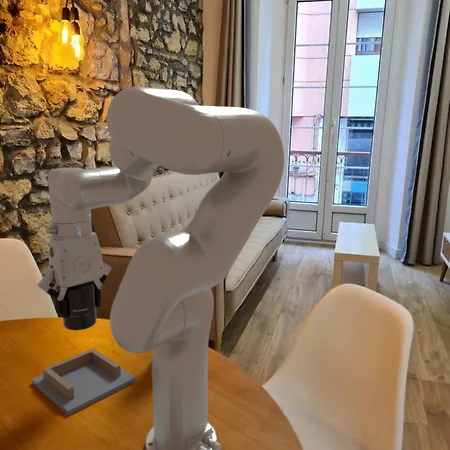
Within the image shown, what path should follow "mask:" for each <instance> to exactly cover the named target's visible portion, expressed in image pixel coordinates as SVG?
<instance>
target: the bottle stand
mask: <svg viewBox="0 0 450 450" xmlns="http://www.w3.org/2000/svg"><path fill="white" fill-rule="evenodd" d="M136 381H137V380H136V377H135V375H133V374H131V373H129V372H128V371H127V370H124V368H122V367H121V365H120V364H119V363H117V362H115V361H114V360H112V359H111V358H109V357H108V356H107V355H104V354H103V353H101V352H100V351H98V350H97V349H96V348H91V349H88V350H85V351H83V352H80V353H78V354H75V355H73V356H70V357H68V358H65V359H64V360H61V361H58V362H55V363H53V364H51V365H48V366H45V367H44V368H42V375H38V376H36V377H33V378H31V383H32V385H33V386H35V388H37V389H38V390H39V391H40V392H41V393H42V394H43V395H44V396H46V397H47V398H48V399H50V401H51V402H53V403H54V405H56V406H57V407H58V408H59V409H60V410H61V411H63V413H65V414H66V415H67V416H70V415H72V414H74V413H77V412H78V411H80V410H82V409H84V408H86V407H88V406H91V405H92V404H94V403H96V402H98V401H100V400H102V399H104V398H105V397H107V396H110V395H112V394H113V393H116V392H118V391H120V390H122V389H124V388H126V387H128V386H129V385H132V384H133V383H136Z"/></svg>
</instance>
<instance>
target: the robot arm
mask: <svg viewBox="0 0 450 450" xmlns="http://www.w3.org/2000/svg"><path fill="white" fill-rule="evenodd" d="M106 113H107V114H106V126H107V131H108V133H109V135H110V137H111V138H110V140H109V145H108V147H109V148H108V150H109V155H110V158H111V161H112V162H113V164H114V165H115V166H107V167H106V166H104V167H94V168H81V167H61V168H60V167H59V168H53V169H51V170H50V171H48V174H47V175H48V176H47V182H48V194H49V203H50V204H49V205H50V212H51V213H50V214H51V215H50V216H51V222H50V223H51V225H50V226H49V227H46V229H45V231H46V234H47V235H52V237H50V242H49V246H48V248H49V249H48V250H49V251H48V271H47V272H46V273H45V275H43V277H42V279H40V281H39V282H38V283H37V287H38V288H39V289H40V290H42V291H43V292H45V293H46V294H48V295H49V296H51V297H52V298H54V305H55V312H56V314H57V315H58V316H60V317H61V318H62V319H63V318H67V317H68V310H67V300H66V299H64V295H65V293H66V290H67V288H69V287H73V286H77V285H80V284H84V283H88V282H92V283H93V284H94V286H95V300H96V308H99V307H101V301H102V295H101V294H102V293H101V289H103V284H104V283H105V281H106V280H107V277H108V275H109V274H110V272H111V270H112V267H111V265H109V264H107V263H106V262H104V261H103V257H102V251H101V246H100V243H99V238H98V236H97V233H96V232H95V231H93V227H92V226H93V225H92V212H91V210H93V209H98V208H104V207H109V206H116V205H122V204H125V203H127V202H130V201H131V200H133V199H134V198H136V197H137V196H139V195H140V194H142V193H143V192H144V191H145V190H147V189H148V188H149V186H151V182H152V180H153V176H154V170H156V169H157V168H158V167H162V168H163V169H164V168H165V169H167V170H169V171H172V172H174V173H178V174H180V175H181V174H182V175H186V176H189V175H191V176H200V175H206V174H215V173H223V174H222V176H221V177H220V178H219V179H218V181H216V182H215V183H214V185H213V186H211V188H210V189H209V190H208V191H207V192H206V194H205V195H204V196H203V198H202V199H201V201H200V203H199V205H198V208H197V210H196V212H195V213H194V215H193V218H192V219H190V221H189V223H188V225H186V226H185V227H184V228H182V229H180V230H177V231H175V232H171V233H167V234H163V235H160V236H157V237H154V238H151V239H149V240H148V241H146V242H144V243H143V244H142V245H140V246H139V247H138V248H137V250H136V251H135V252H134V254H133V255H132V257H131V259H130V261H129V264H128V265H127V268H126V270H125V272H124V275H123V278H122V280H121V282H120V283H119V286H118V289H117V291H116V294H115V296H114V299H113V301H112V304H111V307H110V308H111V309H110V314H109V315H110V316H109V327H110V331H111V334H112V336H113V339H114V340H115V342H116V344H117V345H118V346H119V347H120V348H121V349H123V350H125V351H126V352H129V353H132V354H133V353H134V354H143V353H147V352H150V351H152V352H151V378H152V379H151V380H152V381H151V382H152V407H153V409H152V410H153V411H152V412H153V426H152V427H151V428H150V430H149V432H148V433H147V434H146V437H145V450H222V446H223V445H222V444H221V443H219V442H218V441H217V438H218V437H217V433H216V430H215V428H214V427H213V426H212V425H211V424H210V423H209V416H208V415H209V406H208V405H209V404H208V403H209V400H208V397H209V396H208V395H209V392H208V391H209V387H208V385H209V384H208V382H209V381H208V380H209V379H208V378H209V375H208V374H209V371H208V370H209V368H208V365H209V339H210V338H209V337H210V332H211V331H210V330H211V325H212V320H213V315H214V309H215V308H214V306H215V305H214V304H215V302H214V295H213V292H212V288H213V287H216V286H217V285H219V284H220V283H221V282H223V281H224V279H226V277H227V275H228V274H229V273H230V271H231V269H232V267H233V265H234V264H235V262H236V261H237V260H238V259H237V258H238V257H239V255H240V254H241V252H242V250H243V249H244V247H245V246H246V244H247V242H248V240H249V238H250V237H251V235H252V232H253V231H254V230H255V228H256V226H257V225H258V223H259V221H260V220H261V218H262V217H263V215H264V214H265V212H266V211H267V209H268V207H269V206H270V204H271V203H272V201H273V199H274V197H275V196H276V194H277V191H278V189H279V187H280V184H281V182H282V178H283V173H284V169H285V168H284V167H285V152H284V146H283V145H284V144H283V142H282V137H281V135H280V133H279V130H278V129H277V127H276V126H275V123H273V122H272V121H271V120H270V118H268V117H267V116H265V114H262V113H261V112H258V111H256V110H252V109H250V108H244V107H236V106H235V107H233V106H211V105H199V103H198V101H196V99H195V98H194V97H193V96H191V95H189V94H188V93H186V92H184V91H181V90H177V89H169V88H160V87H159V88H157V87H147V86H146V87H145V86H130V87H126V88H124V89H122V90H121V91H119V92H118V93H117V94H116V95H115V96H113V98H112V100H111V101H110V103H109V105H108V108H107V112H106ZM50 284H54V287H53V288H52V287H51V286H50Z"/></svg>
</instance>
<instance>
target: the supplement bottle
mask: <svg viewBox="0 0 450 450" xmlns="http://www.w3.org/2000/svg"><path fill="white" fill-rule="evenodd" d="M64 299H66V300H67V310H68V317H67V318H63V317H62V323H63V327H64V328H65V329H67V330H70V331H82V330H86V329H87V330H88V329H89V328H92V327H94V326H95V324H96V323H97V307H96V300H95V286H94V284H93V283H92V282H88V283H84V284H80V285H77V286H73V287H69V288H67V290H66V293H65V295H64Z"/></svg>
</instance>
